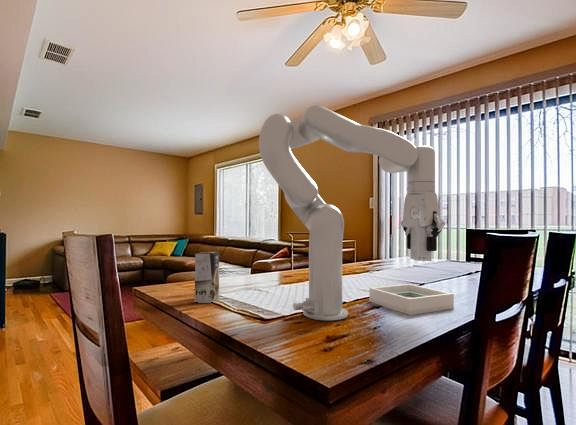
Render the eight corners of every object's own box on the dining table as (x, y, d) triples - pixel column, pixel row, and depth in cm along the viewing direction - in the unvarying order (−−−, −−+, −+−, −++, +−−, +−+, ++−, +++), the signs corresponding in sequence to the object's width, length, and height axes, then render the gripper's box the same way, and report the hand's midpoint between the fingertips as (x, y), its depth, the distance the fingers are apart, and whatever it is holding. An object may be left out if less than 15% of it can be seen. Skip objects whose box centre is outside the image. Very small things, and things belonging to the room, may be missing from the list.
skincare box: (431, 261, 95) (432, 218, 95) (416, 261, 95) (416, 218, 96) (424, 258, 101) (424, 219, 101) (409, 258, 101) (410, 218, 102)
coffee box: (213, 303, 109) (214, 253, 110) (193, 303, 109) (194, 253, 110) (219, 297, 118) (220, 251, 119) (201, 297, 118) (201, 250, 119)
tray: (409, 315, 96) (409, 299, 96) (369, 301, 113) (369, 287, 113) (453, 308, 104) (453, 293, 104) (410, 296, 120) (409, 283, 120)
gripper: (391, 191, 105) (391, 248, 105) (434, 185, 89) (435, 252, 89) (409, 192, 108) (410, 247, 108) (455, 187, 92) (455, 252, 92)
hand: (421, 249), depth 98 cm, fingers closed on skincare box, 7 cm apart
